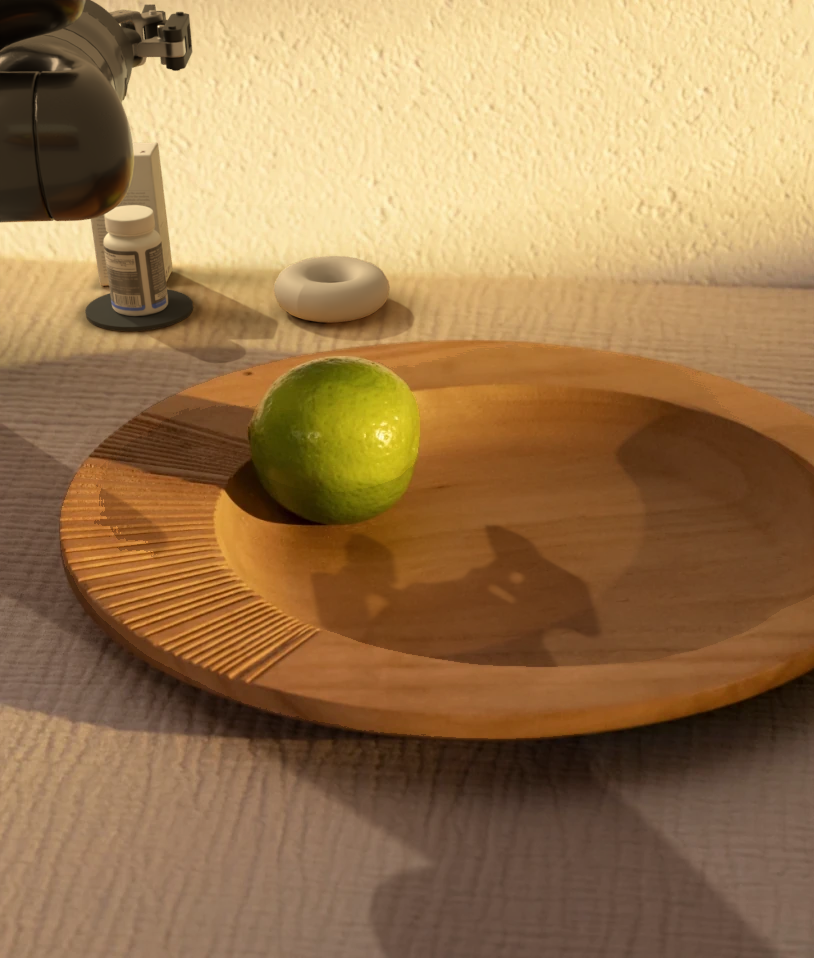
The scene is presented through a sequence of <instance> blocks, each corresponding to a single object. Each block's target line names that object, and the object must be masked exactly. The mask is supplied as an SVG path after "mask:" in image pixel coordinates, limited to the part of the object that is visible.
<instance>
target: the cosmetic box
mask: <svg viewBox="0 0 814 958" xmlns="http://www.w3.org/2000/svg"><path fill="white" fill-rule="evenodd" d="M133 150H134V168H133V175H132V179H131V183H130V187H129V189H128V191H127V193H126V196H125V197H124V199H123V200H122V201H121V203H120V204H119V205H117V206H116V207H120V206H127V205H140V206H146V207H149V208H151V209H152V210H153V213H154V220H155V228H154V230H155V231H157V232H158V233H159V235H160V237H161V241H162V249H163V259H164V269H165V276H166V283H167V282H168V281H169V277H171V276H170V275H171V273H172V272H173V268H174V267H173V259H172V258H173V257H172V250H171V241H170V240H171V239H170V234H169V225H168V216H167V208H166V199H165V190H164V182H163V181H164V180H163V172H162V165H161V156H160V148H159V143H158V142H157V141H152V142H151V141H150V142H133ZM104 215H105V214H104ZM104 215H102V216H99V217H96V218H92V219H90V225H91V233H92V238H93V245H94V251H95V252H94V254H95V260H96V267H97V274H98V281H99V284H100V286H101V287H102V286H103V287H104V286H105V287H106V286H107V287H109V280H108V273H107V266H106V259H105V252H104V245H103V241H104V238H105V236H106V235H107V234H108V232H107V231H106V227H105V217H104Z"/></svg>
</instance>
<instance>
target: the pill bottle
mask: <svg viewBox="0 0 814 958" xmlns="http://www.w3.org/2000/svg"><path fill="white" fill-rule="evenodd" d="M104 217H105V227H106V231H107V232H108V234H107V235H106V236H105V238H104V241H103V245H104V252H105V259H106V266H107V273H108V280H109V286H108V287H109V288H108V289H109V293H110V295H111V303H112V307H113V309H114V310H115V311H116V312H117V313H119V314H122V315H126V316H144V315H149V314H154V313H157V312H160V311H162V310H164V309H165V308H166V307H167V305H168V294H167V289H168V286H167V282H166V276H165V269H164V259H163V249H162V241H161V237H160V235H159V233H158V232H157V231H155V230H154V228H155V220H154V213H153V210H152V209H151V208H149V207H146V206H140V205H127V206H120V207H115V208H114V209H113V210H111V211H109V212H108V213H106V214H105V215H104Z"/></svg>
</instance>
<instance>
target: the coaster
mask: <svg viewBox="0 0 814 958" xmlns="http://www.w3.org/2000/svg"><path fill="white" fill-rule="evenodd" d="M167 294H168V305H167V307H166V308H165V309H164V310H162V311H160V312H157V313H154V314H149V315H144V316H126V315H122V314H119V313H117V312H116V311H115V310H114V309H113V307H112V303H111V295H110V292H109V293H107V294H103V295H101V296H99V297H96V298H95V299H93V300H92V301H91V302H89V303H88V304H87V306H86V307H85V311H84V312H85V317H86V319H87V321H88V322H89V323H91V324H92V325H93V326H95V327H98V328H101V329H105V330H110V331H117V332H145V331H152V330H157V329H161V328H166V327H170V326H173V325H175V324H178V323H180V322H183V321H184V320H185V319H187V318H189V316H190V315H191V314H192V312H193V310H194V304H193V300H192V299H191V298H190V297H189V296H188V295H187V294H185V293H182V292H181V291H178V290H173V289H169V288H167Z"/></svg>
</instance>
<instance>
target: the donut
mask: <svg viewBox="0 0 814 958" xmlns="http://www.w3.org/2000/svg"><path fill="white" fill-rule="evenodd" d="M390 288H391V287H390V282H389V279H388V278H387V276H386V274H385V273H384V271H383V270H382V269H381V268H380V267H379V266H377V265H375V264H374V263H372V262H370V261H367V260H364V259H360V258H358V257H353V256H345V255H324V256H323V255H322V256H316V257H315V256H314V257H309V258H304V259H302V260H299V261H297V262H294V263H291V264H289V265H288V266H286V267H284V268H283V269H282V270H281V271H280V272H279V274H278V276H277V277H276V279H275V282H274V284H273V294H274V297H275V299H276V302H277V304H278V306H279V307H280V308H281V309H282V310H284V311H285V312H287V314H289V315H291V316H293V317H295V318H298V319H302V320H304V321H311V322H315V323H316V322H317V323H334V324H335V323H344V322H346V323H347V322H352V321H357V320H359V319H362V318H365V317H368V316H370V315H372V314H375V313H376V312H377V311H378V310H380V309H381V308H382V307H383V306H384V305H385V303H386V302H387V300H388V297H389V293H390Z"/></svg>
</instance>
